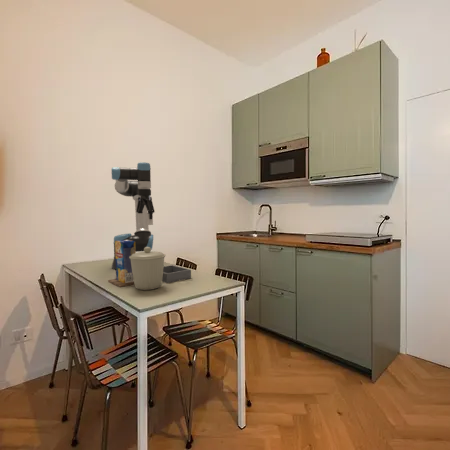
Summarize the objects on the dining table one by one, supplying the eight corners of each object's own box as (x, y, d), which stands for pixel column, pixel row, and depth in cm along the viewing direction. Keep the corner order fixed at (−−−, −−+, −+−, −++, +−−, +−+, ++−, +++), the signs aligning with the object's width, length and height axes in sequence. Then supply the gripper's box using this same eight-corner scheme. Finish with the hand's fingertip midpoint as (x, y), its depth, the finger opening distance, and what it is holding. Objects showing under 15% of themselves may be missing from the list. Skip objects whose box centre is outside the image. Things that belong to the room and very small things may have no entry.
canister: (143, 294, 137) (142, 250, 136) (123, 288, 149) (121, 247, 148) (173, 286, 151) (172, 246, 150) (152, 281, 162) (151, 243, 161)
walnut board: (108, 281, 163) (108, 280, 163) (132, 277, 172) (132, 276, 172) (119, 287, 151) (119, 285, 151) (144, 282, 160) (144, 280, 160)
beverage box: (128, 277, 168) (126, 239, 167) (136, 281, 160) (135, 241, 158) (116, 279, 163) (114, 240, 162) (124, 283, 155) (123, 242, 154)
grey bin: (149, 277, 173) (149, 268, 173) (172, 272, 184) (172, 265, 183) (166, 283, 158) (166, 274, 158) (191, 278, 169) (190, 269, 169)
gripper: (130, 189, 181) (131, 223, 183) (147, 187, 162) (148, 225, 163) (141, 189, 186) (142, 223, 187) (159, 188, 167) (160, 225, 168)
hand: (145, 224), depth 175 cm, fingers open, 13 cm apart
